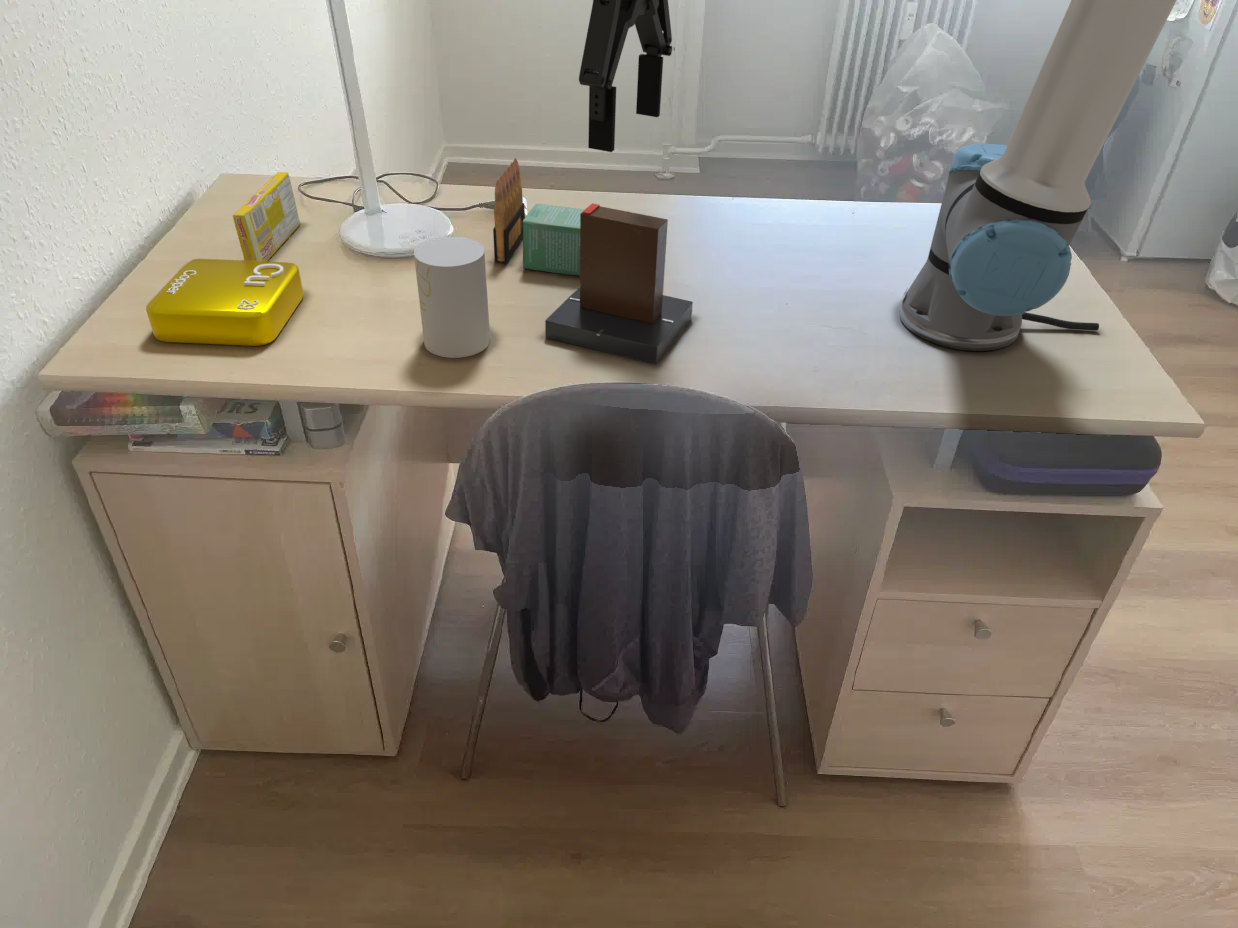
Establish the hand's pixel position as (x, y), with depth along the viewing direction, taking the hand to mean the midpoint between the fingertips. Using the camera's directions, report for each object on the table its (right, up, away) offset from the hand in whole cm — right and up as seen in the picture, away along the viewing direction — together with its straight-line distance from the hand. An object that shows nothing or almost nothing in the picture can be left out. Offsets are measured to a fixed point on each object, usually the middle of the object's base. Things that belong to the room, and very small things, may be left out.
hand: (625, 131), depth 103 cm
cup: (-21, -22, +11) cm, 33 cm away
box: (-7, -9, +29) cm, 32 cm away
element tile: (-50, -18, +15) cm, 56 cm away
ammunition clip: (-17, -5, +33) cm, 38 cm away
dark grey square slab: (-1, -20, +15) cm, 25 cm away
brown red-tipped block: (0, -18, +14) cm, 22 cm away
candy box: (-51, -6, +31) cm, 60 cm away
